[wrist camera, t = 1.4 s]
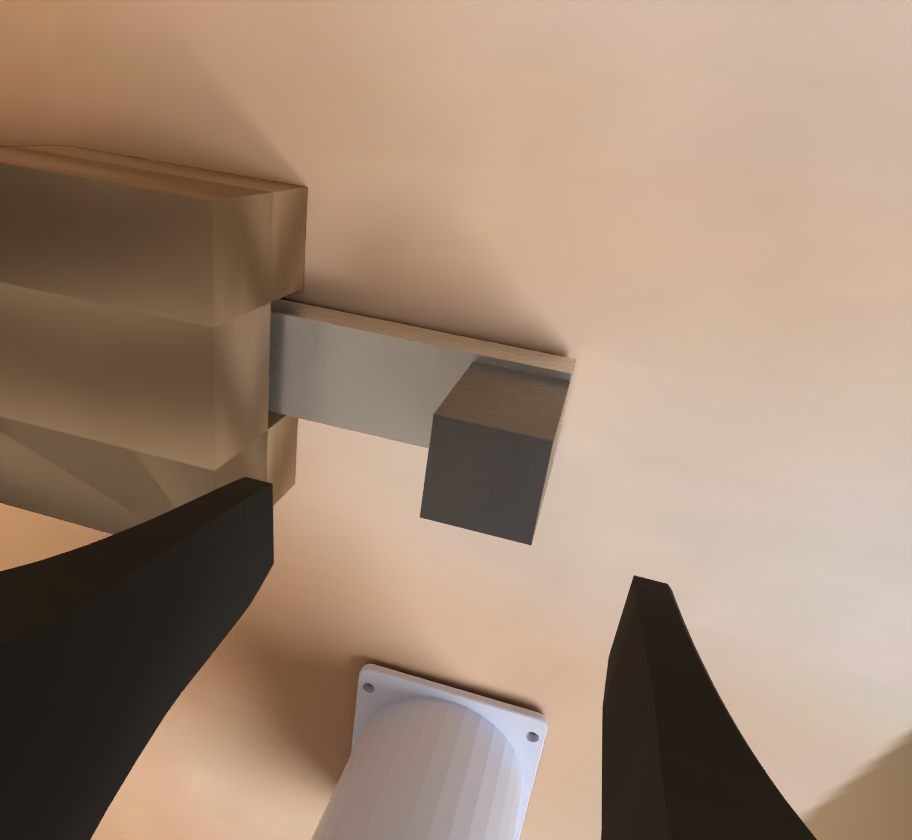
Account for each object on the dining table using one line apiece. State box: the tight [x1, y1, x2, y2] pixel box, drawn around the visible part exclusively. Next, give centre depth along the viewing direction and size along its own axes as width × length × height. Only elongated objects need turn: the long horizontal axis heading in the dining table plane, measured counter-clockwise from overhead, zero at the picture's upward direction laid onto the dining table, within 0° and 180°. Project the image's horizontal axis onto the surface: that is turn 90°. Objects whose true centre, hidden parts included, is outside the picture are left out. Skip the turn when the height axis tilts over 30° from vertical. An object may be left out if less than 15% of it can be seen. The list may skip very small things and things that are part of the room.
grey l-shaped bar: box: [268, 299, 576, 545], centre depth 22 cm, size 4×24×6 cm, turn 82°
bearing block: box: [0, 146, 308, 534], centre depth 22 cm, size 11×9×6 cm
